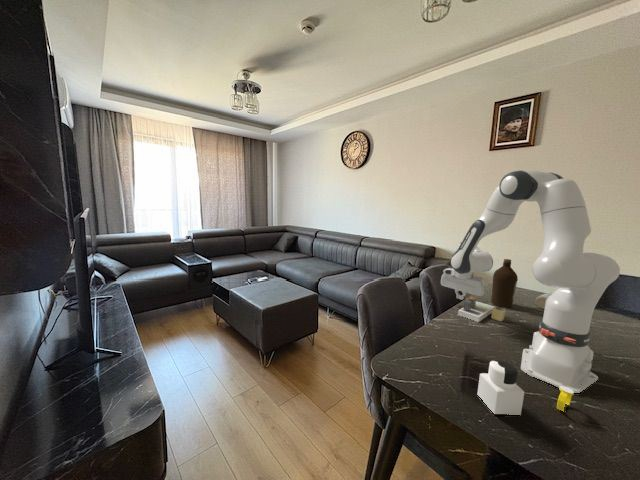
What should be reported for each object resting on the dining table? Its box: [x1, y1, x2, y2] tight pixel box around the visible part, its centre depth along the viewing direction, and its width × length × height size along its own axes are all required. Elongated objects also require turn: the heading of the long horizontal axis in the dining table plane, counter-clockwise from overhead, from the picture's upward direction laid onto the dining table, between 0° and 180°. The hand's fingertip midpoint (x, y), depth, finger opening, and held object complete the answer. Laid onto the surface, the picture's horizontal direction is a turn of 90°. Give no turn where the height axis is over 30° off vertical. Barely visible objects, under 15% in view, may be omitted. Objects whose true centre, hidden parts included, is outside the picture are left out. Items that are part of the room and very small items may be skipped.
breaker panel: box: [457, 300, 495, 323], centre depth 125 cm, size 20×9×3 cm, turn 128°
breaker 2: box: [468, 296, 477, 308], centre depth 126 cm, size 3×2×5 cm, turn 128°
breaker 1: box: [463, 299, 472, 311], centre depth 123 cm, size 3×2×4 cm, turn 128°
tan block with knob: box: [490, 306, 506, 322], centre depth 120 cm, size 4×4×6 cm
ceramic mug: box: [534, 292, 553, 310], centre depth 132 cm, size 11×8×8 cm
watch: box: [556, 386, 575, 413], centre depth 67 cm, size 6×3×6 cm, turn 122°
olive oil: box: [490, 258, 519, 309], centre depth 136 cm, size 11×11×25 cm
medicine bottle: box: [476, 359, 525, 416], centre depth 67 cm, size 7×7×12 cm
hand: (459, 298), depth 131 cm, fingers closed
